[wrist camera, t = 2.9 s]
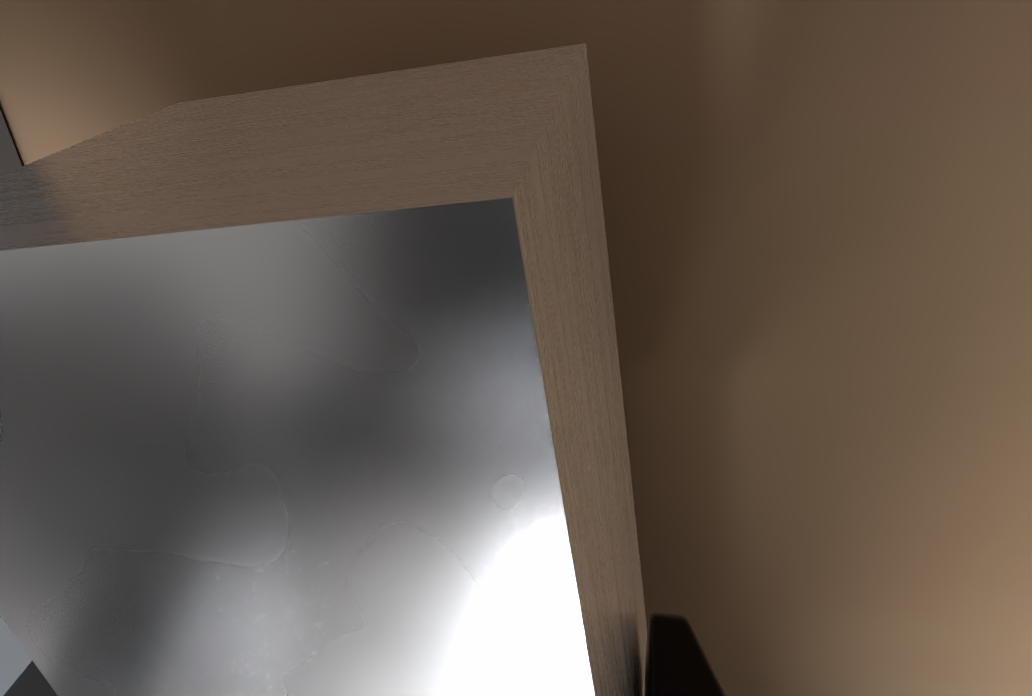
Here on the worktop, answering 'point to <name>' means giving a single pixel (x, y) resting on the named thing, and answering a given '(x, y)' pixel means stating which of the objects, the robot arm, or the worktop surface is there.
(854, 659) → the worktop surface
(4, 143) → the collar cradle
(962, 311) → the worktop surface
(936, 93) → the worktop surface
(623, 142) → the worktop surface
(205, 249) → the shiny metal block
